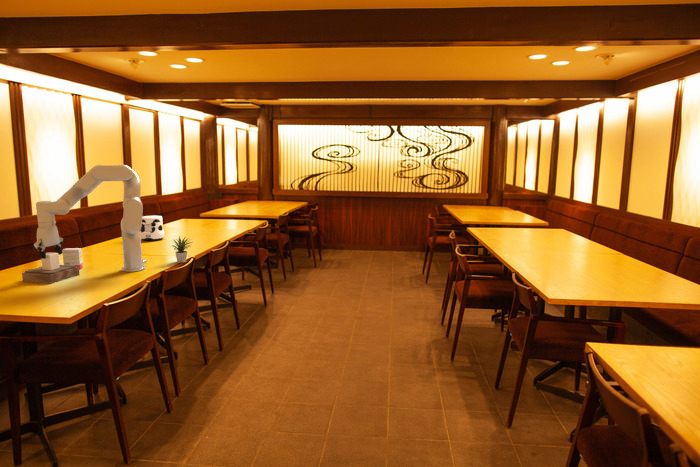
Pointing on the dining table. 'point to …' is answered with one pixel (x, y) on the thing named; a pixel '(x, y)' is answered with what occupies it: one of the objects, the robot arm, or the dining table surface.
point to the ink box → (72, 257)
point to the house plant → (181, 250)
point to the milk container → (152, 228)
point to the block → (50, 261)
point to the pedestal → (50, 274)
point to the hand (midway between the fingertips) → (50, 256)
